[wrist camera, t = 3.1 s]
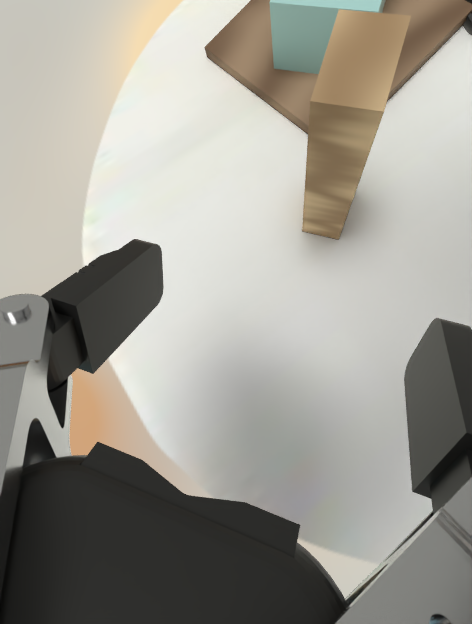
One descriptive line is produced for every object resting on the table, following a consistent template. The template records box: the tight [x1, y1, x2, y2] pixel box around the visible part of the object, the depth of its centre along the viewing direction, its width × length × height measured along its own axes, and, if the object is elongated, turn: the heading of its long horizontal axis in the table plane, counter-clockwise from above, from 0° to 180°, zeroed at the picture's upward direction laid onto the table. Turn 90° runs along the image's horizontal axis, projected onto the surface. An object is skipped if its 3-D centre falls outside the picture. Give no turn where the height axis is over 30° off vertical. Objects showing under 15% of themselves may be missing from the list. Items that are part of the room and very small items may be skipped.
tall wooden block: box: [302, 9, 411, 240], centre depth 21 cm, size 3×4×14 cm, turn 162°
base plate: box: [205, 0, 472, 134], centre depth 30 cm, size 16×16×1 cm
